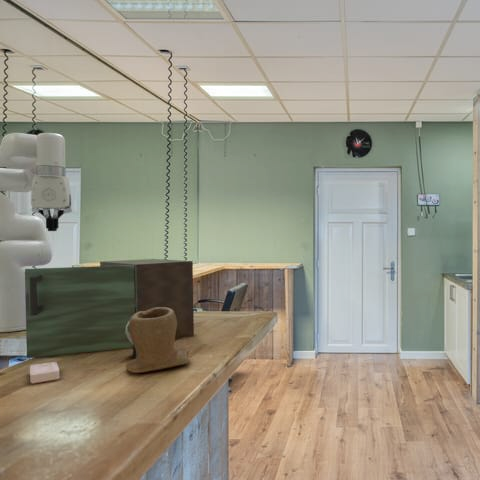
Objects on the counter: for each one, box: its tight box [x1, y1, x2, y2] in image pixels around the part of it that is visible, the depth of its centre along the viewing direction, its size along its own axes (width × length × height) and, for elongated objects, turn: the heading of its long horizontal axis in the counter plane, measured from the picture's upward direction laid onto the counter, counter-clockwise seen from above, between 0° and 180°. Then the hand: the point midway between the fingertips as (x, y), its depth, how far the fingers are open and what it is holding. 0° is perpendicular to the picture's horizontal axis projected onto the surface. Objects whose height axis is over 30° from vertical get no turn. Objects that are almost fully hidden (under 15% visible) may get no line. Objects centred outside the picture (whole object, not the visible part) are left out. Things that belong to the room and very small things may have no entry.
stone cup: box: [124, 307, 190, 374], centre depth 113 cm, size 15×12×15 cm
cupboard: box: [99, 258, 195, 340], centre depth 151 cm, size 18×26×24 cm
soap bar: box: [29, 361, 60, 385], centre depth 107 cm, size 5×9×2 cm, turn 37°
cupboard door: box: [24, 265, 135, 359], centre depth 126 cm, size 8×26×24 cm, turn 114°
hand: (52, 230), depth 146 cm, fingers closed
